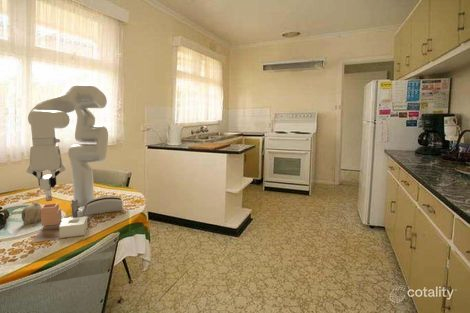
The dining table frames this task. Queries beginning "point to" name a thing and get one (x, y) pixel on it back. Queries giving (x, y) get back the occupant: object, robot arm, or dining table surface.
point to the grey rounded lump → (31, 213)
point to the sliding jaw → (50, 214)
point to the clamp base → (79, 214)
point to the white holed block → (73, 227)
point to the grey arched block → (104, 205)
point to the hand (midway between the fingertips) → (47, 186)
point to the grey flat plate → (51, 234)
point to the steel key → (46, 186)
